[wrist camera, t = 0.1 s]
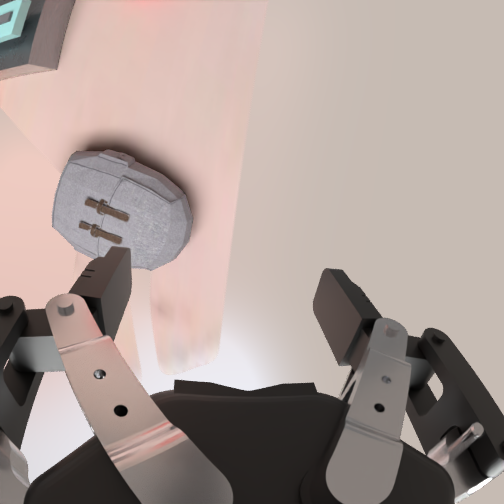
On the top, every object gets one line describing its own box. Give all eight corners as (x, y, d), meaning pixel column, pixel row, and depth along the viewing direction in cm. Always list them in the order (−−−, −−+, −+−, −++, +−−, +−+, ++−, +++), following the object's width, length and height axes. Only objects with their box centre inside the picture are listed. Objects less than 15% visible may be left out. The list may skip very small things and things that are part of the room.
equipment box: (-2, 5, 18) (-35, -4, 8) (82, -21, 21) (54, -45, 12) (-23, 86, 24) (-61, 89, 15) (56, 69, 28) (17, 62, 18)
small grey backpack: (61, 225, 38) (172, 272, 44) (35, 248, 31) (166, 304, 37) (86, 133, 33) (212, 184, 39) (59, 138, 26) (212, 200, 32)
